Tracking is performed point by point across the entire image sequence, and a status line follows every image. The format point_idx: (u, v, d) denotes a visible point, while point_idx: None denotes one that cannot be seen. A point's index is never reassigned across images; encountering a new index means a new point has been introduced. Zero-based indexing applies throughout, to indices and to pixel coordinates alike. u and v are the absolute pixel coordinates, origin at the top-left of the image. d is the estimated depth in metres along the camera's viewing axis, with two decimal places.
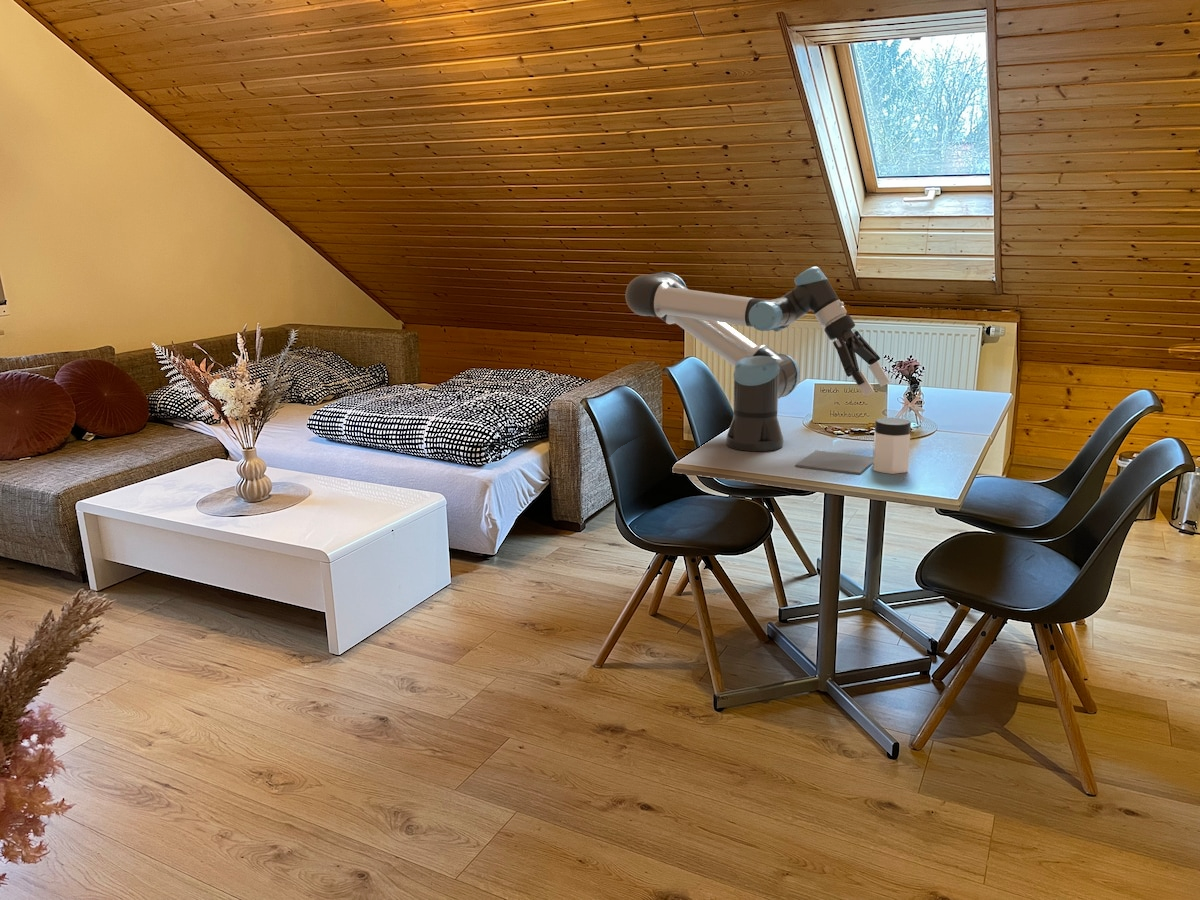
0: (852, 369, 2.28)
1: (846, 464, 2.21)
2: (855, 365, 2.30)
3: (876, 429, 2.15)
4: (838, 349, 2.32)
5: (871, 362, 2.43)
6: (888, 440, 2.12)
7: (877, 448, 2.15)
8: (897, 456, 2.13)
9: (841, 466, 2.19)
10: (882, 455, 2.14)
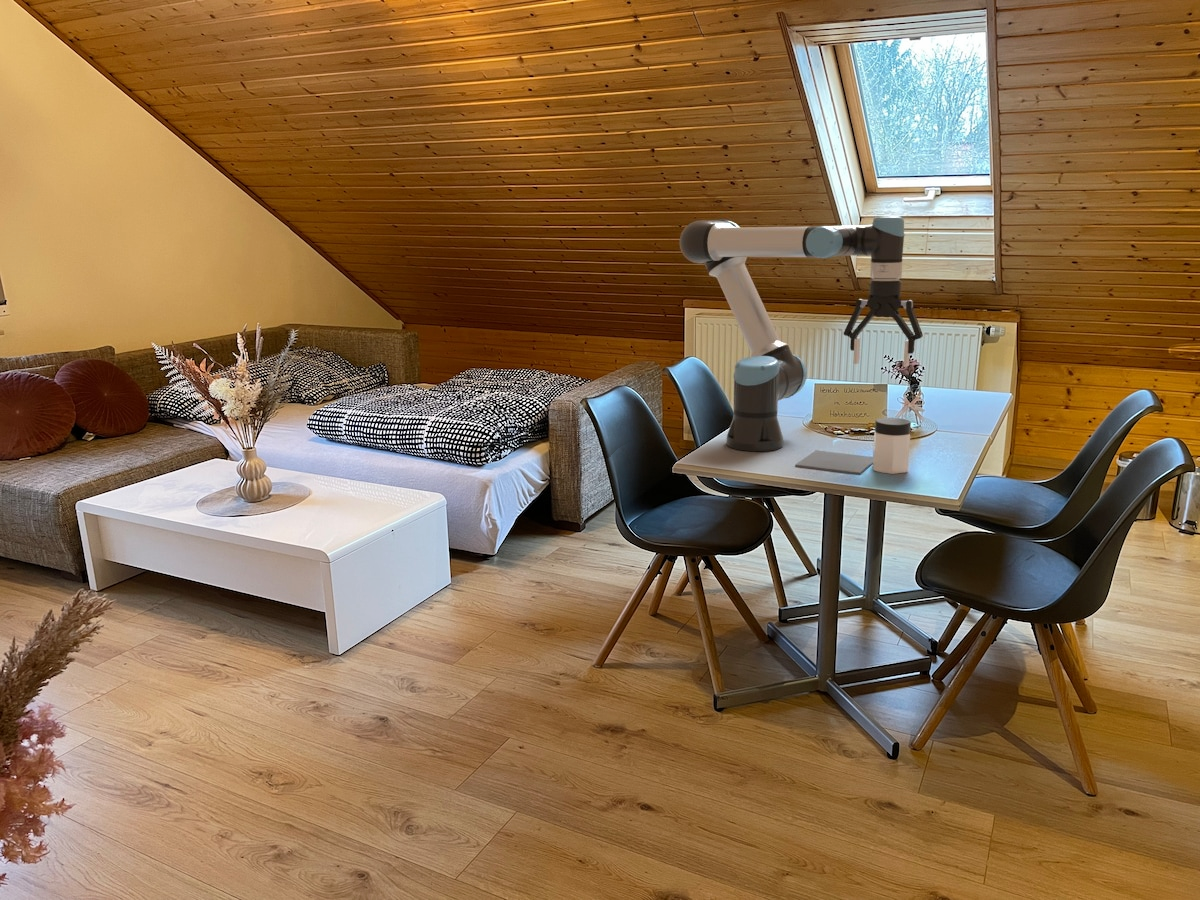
0: None
1: (846, 464, 2.21)
2: (853, 332, 2.32)
3: (876, 429, 2.15)
4: None
5: None
6: (888, 440, 2.12)
7: (877, 448, 2.15)
8: (897, 456, 2.13)
9: (841, 466, 2.19)
10: (882, 455, 2.14)
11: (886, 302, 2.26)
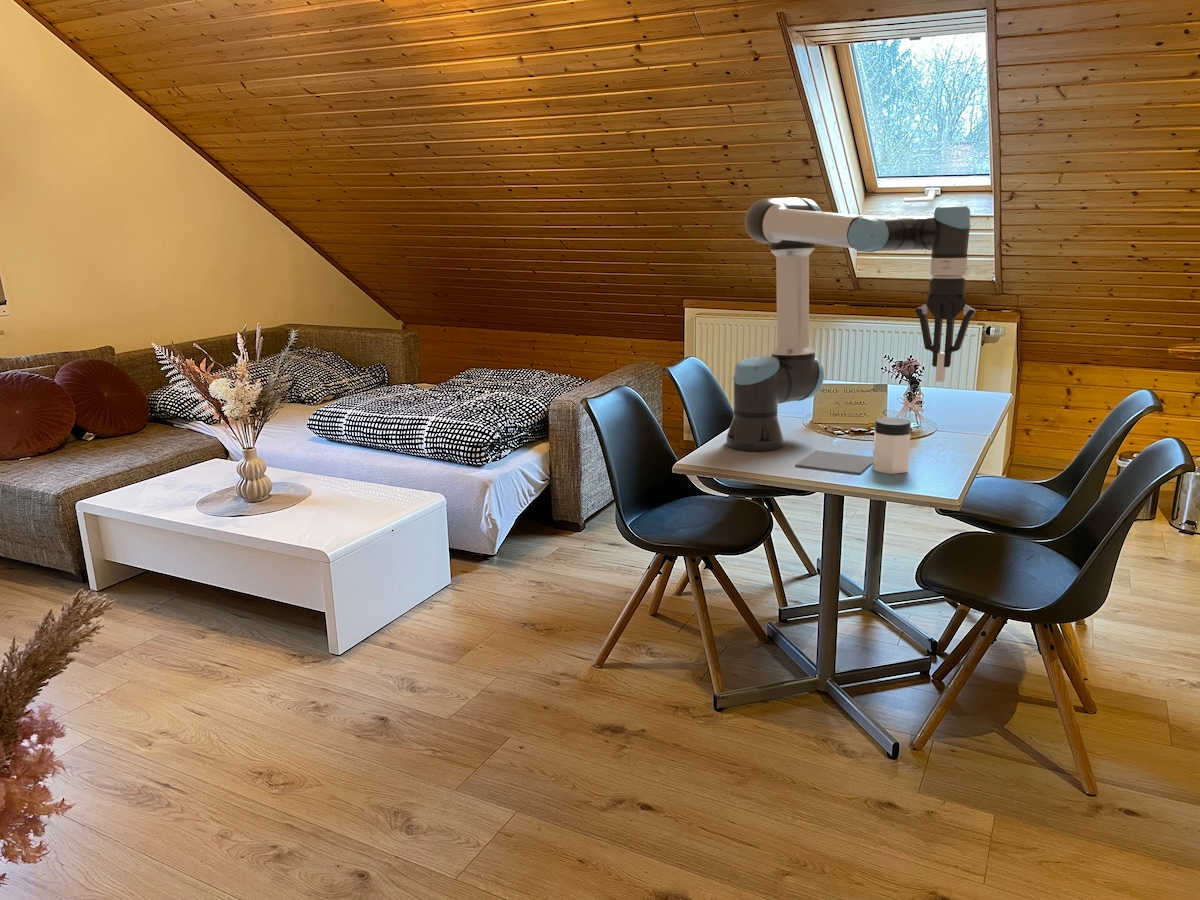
0: (926, 348, 2.06)
1: (846, 464, 2.21)
2: (933, 346, 2.05)
3: (876, 429, 2.15)
4: None
5: None
6: (888, 440, 2.12)
7: (877, 448, 2.15)
8: (897, 456, 2.13)
9: (841, 466, 2.19)
10: (882, 455, 2.14)
11: (951, 296, 2.01)
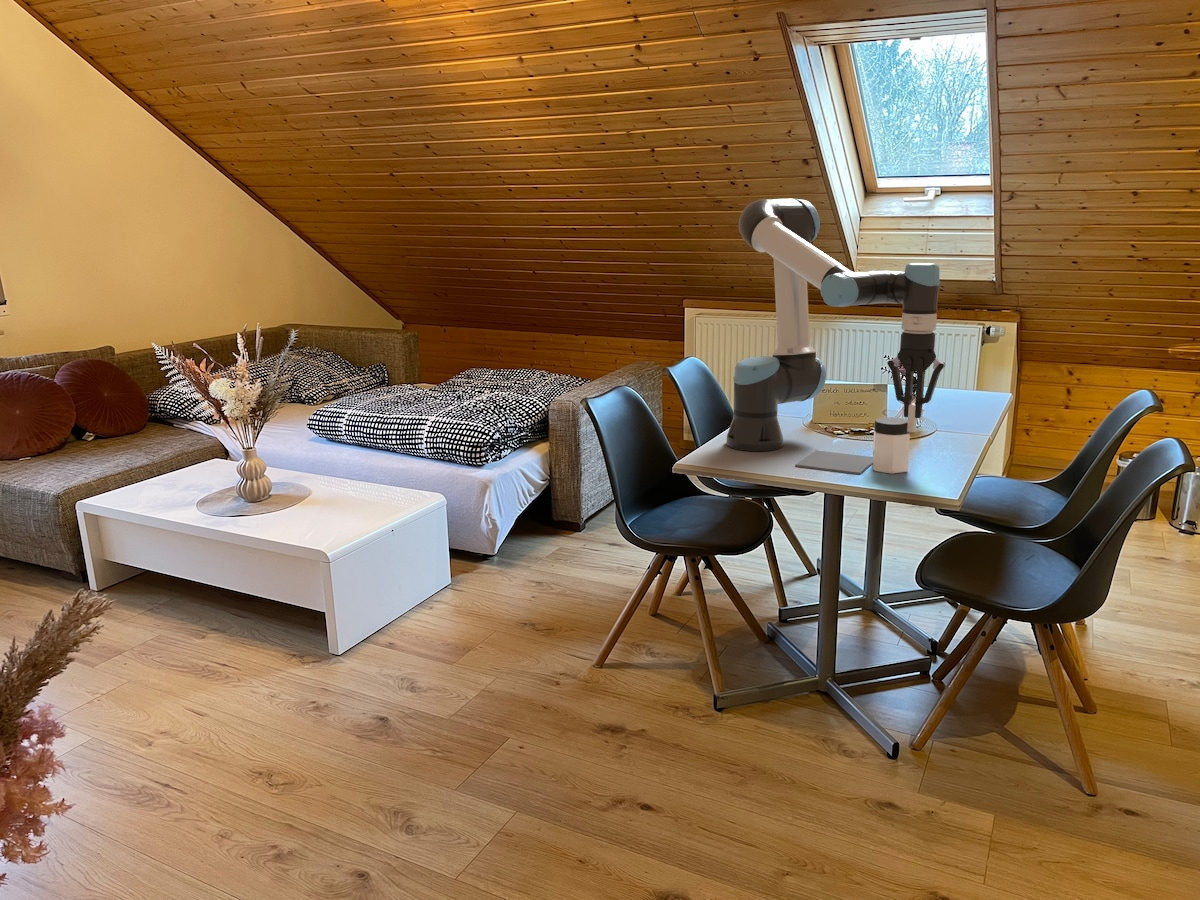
0: None
1: (846, 464, 2.21)
2: (904, 397, 2.11)
3: (875, 429, 2.15)
4: None
5: None
6: (888, 440, 2.12)
7: (876, 448, 2.15)
8: (897, 456, 2.13)
9: (841, 466, 2.19)
10: (882, 455, 2.14)
11: (922, 350, 2.07)
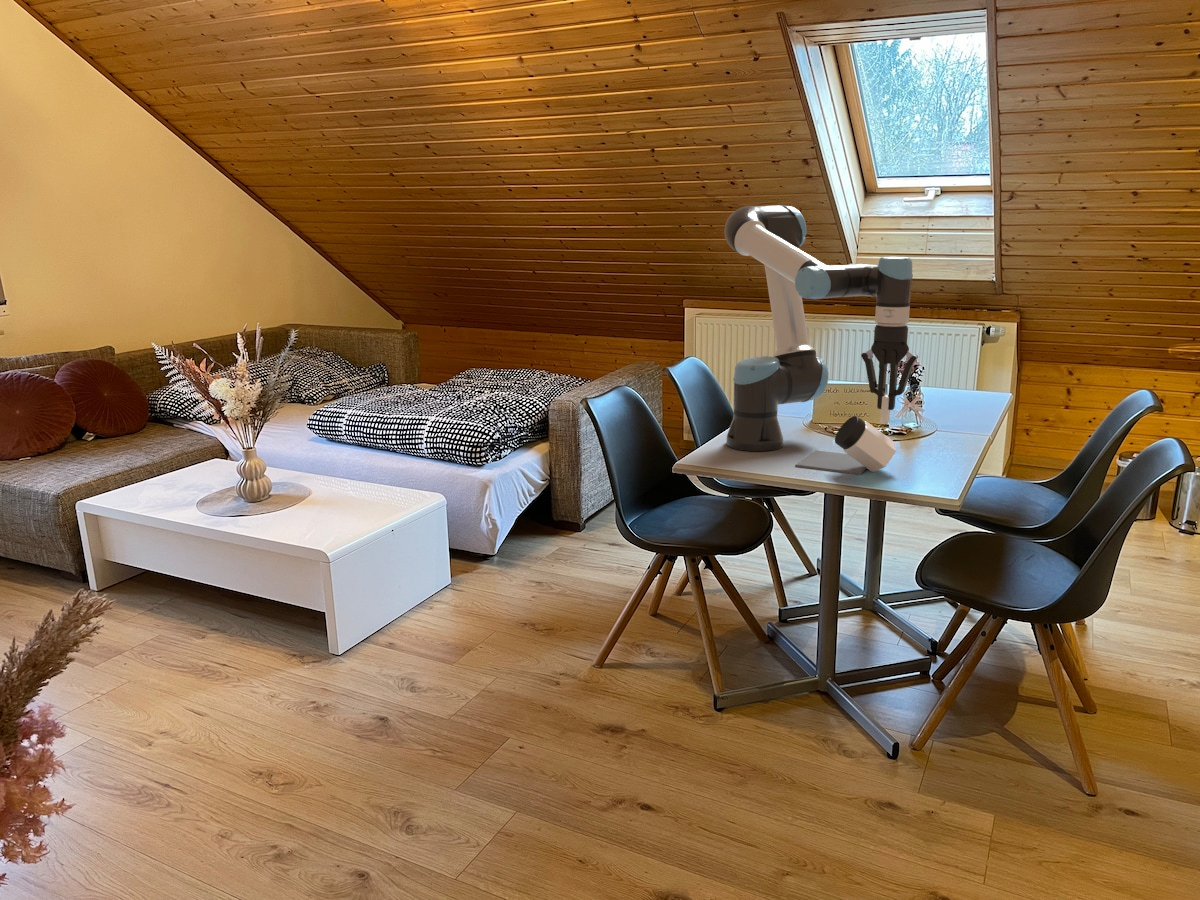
0: None
1: (846, 464, 2.21)
2: (877, 390, 2.14)
3: (841, 447, 2.16)
4: None
5: None
6: (856, 449, 2.13)
7: (856, 458, 2.15)
8: (875, 452, 2.12)
9: (841, 466, 2.19)
10: (865, 460, 2.14)
11: (895, 343, 2.09)
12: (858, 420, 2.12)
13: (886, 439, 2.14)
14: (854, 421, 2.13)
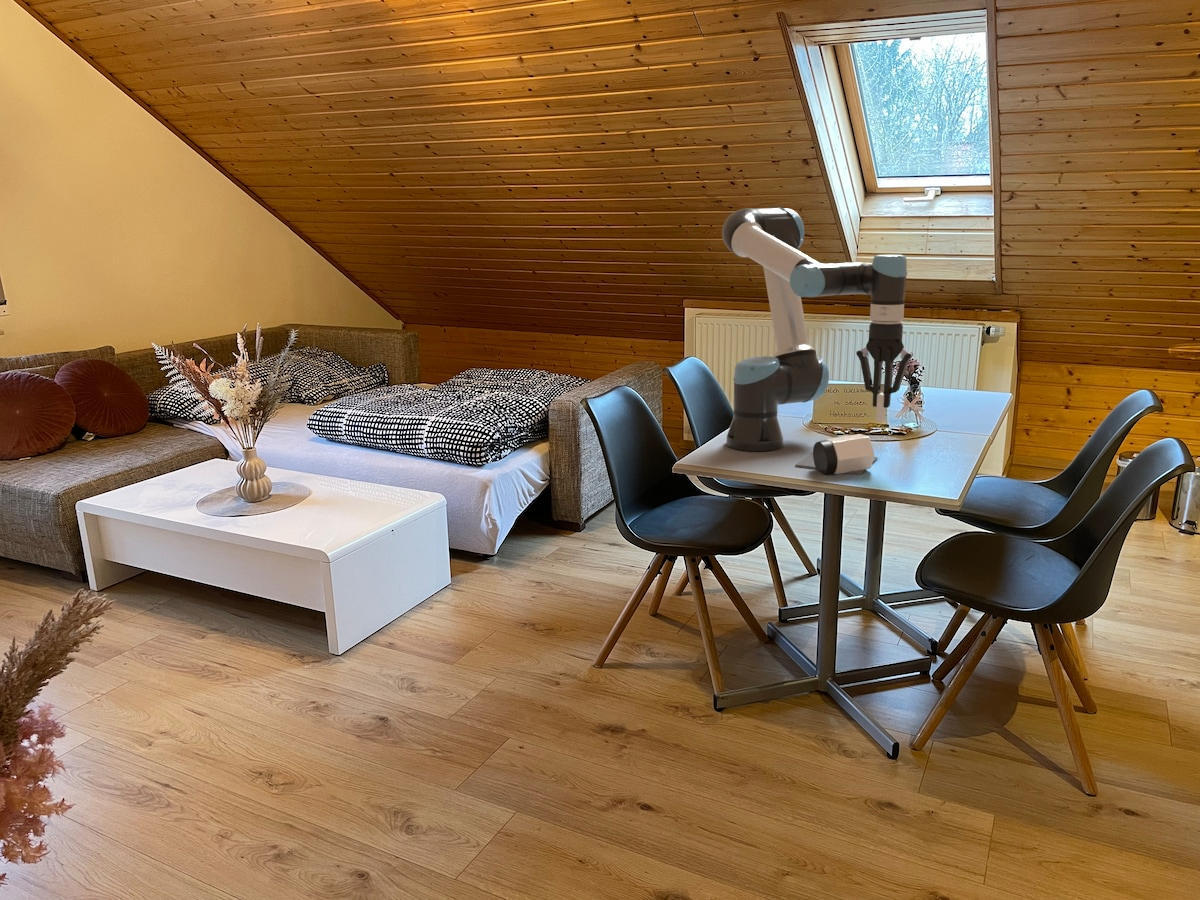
0: None
1: None
2: (873, 387, 2.14)
3: (830, 473, 2.15)
4: None
5: None
6: (842, 463, 2.12)
7: (849, 470, 2.14)
8: (856, 451, 2.12)
9: None
10: (856, 465, 2.14)
11: (889, 341, 2.10)
12: (821, 442, 2.14)
13: (853, 436, 2.16)
14: (819, 446, 2.14)
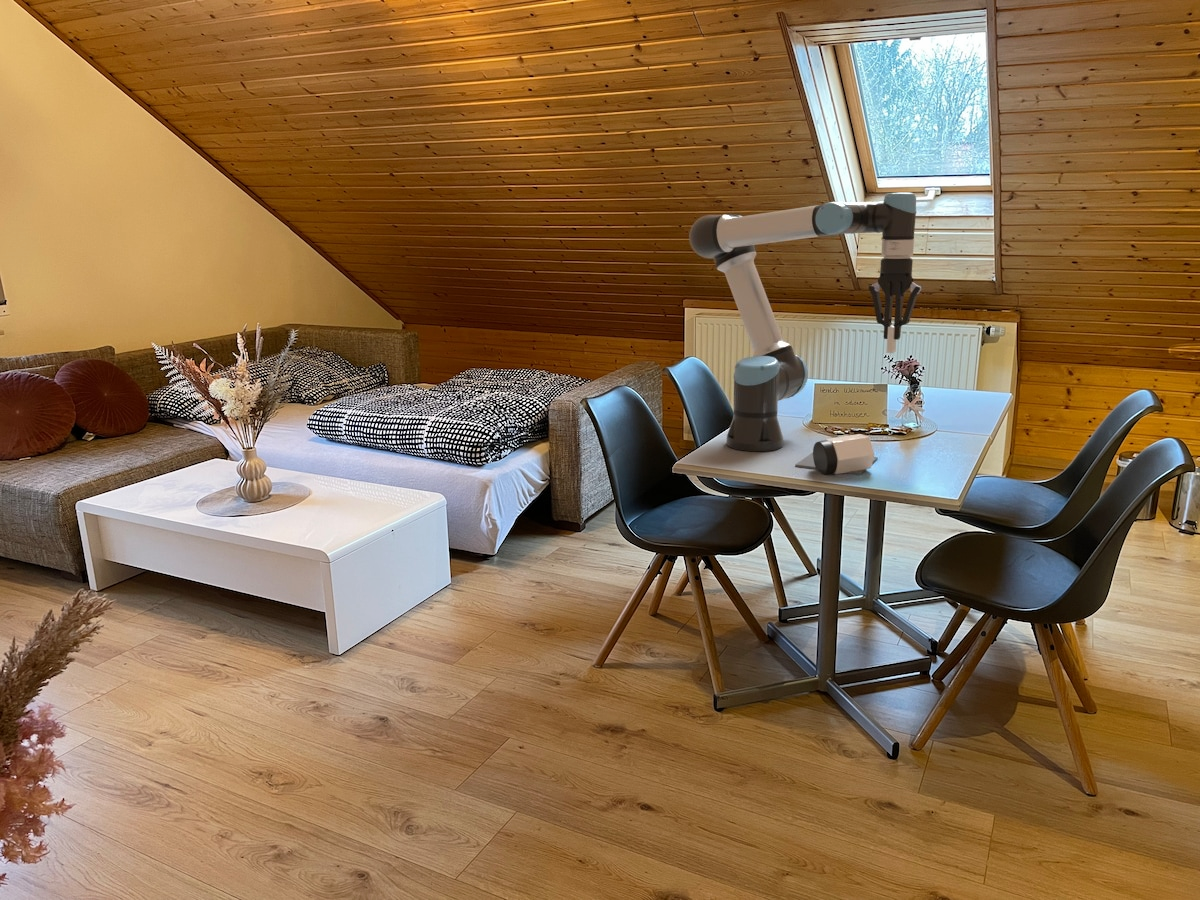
0: (878, 322, 2.28)
1: None
2: (884, 320, 2.26)
3: (830, 473, 2.15)
4: None
5: None
6: (842, 463, 2.12)
7: (849, 470, 2.14)
8: (856, 451, 2.12)
9: None
10: (856, 465, 2.14)
11: (900, 275, 2.22)
12: (821, 442, 2.14)
13: (853, 436, 2.16)
14: (819, 446, 2.14)
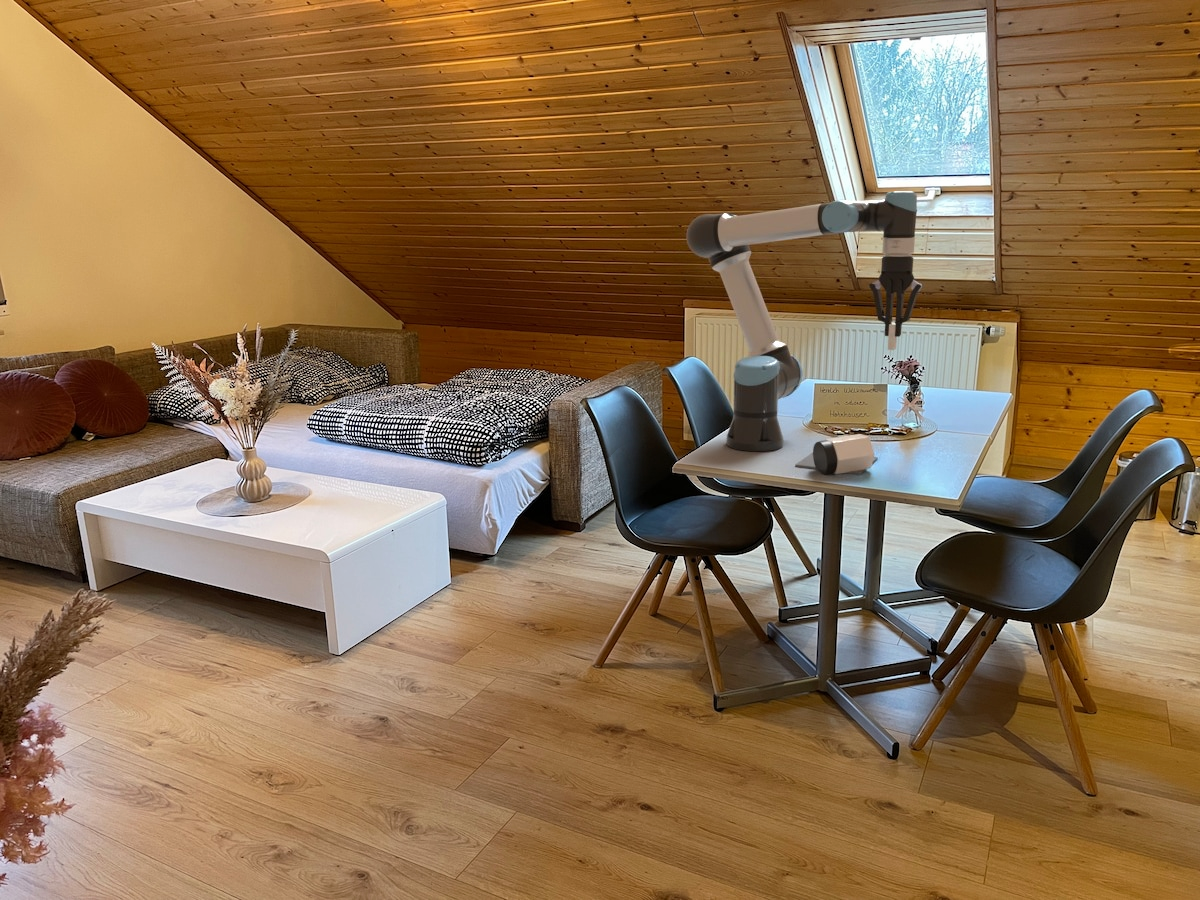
0: (879, 320, 2.30)
1: None
2: (885, 318, 2.29)
3: (830, 473, 2.15)
4: None
5: None
6: (842, 463, 2.12)
7: (849, 470, 2.14)
8: (856, 451, 2.12)
9: None
10: (856, 465, 2.14)
11: (901, 273, 2.24)
12: (821, 442, 2.14)
13: (853, 436, 2.16)
14: (819, 446, 2.14)
